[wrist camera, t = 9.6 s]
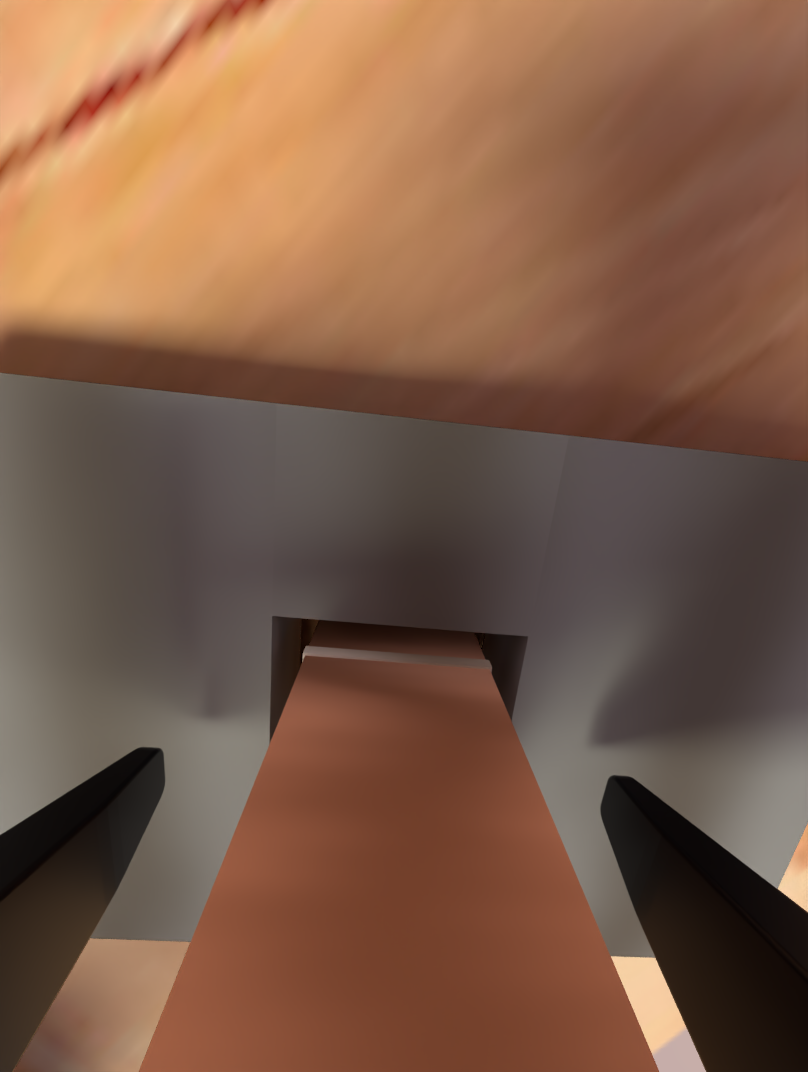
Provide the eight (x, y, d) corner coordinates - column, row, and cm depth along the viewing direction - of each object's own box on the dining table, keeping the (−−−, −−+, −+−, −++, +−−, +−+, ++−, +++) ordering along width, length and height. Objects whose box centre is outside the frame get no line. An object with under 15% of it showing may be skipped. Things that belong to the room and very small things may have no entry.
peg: (319, 714, 12) (139, 1405, 3) (327, 594, 11) (99, 1145, 2) (447, 722, 12) (577, 1391, 4) (465, 606, 11) (701, 1147, 3)
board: (44, 821, 13) (-57, 932, 10) (-27, 376, 9) (-213, 349, 7) (671, 852, 14) (744, 960, 11) (809, 467, 11) (965, 479, 8)
